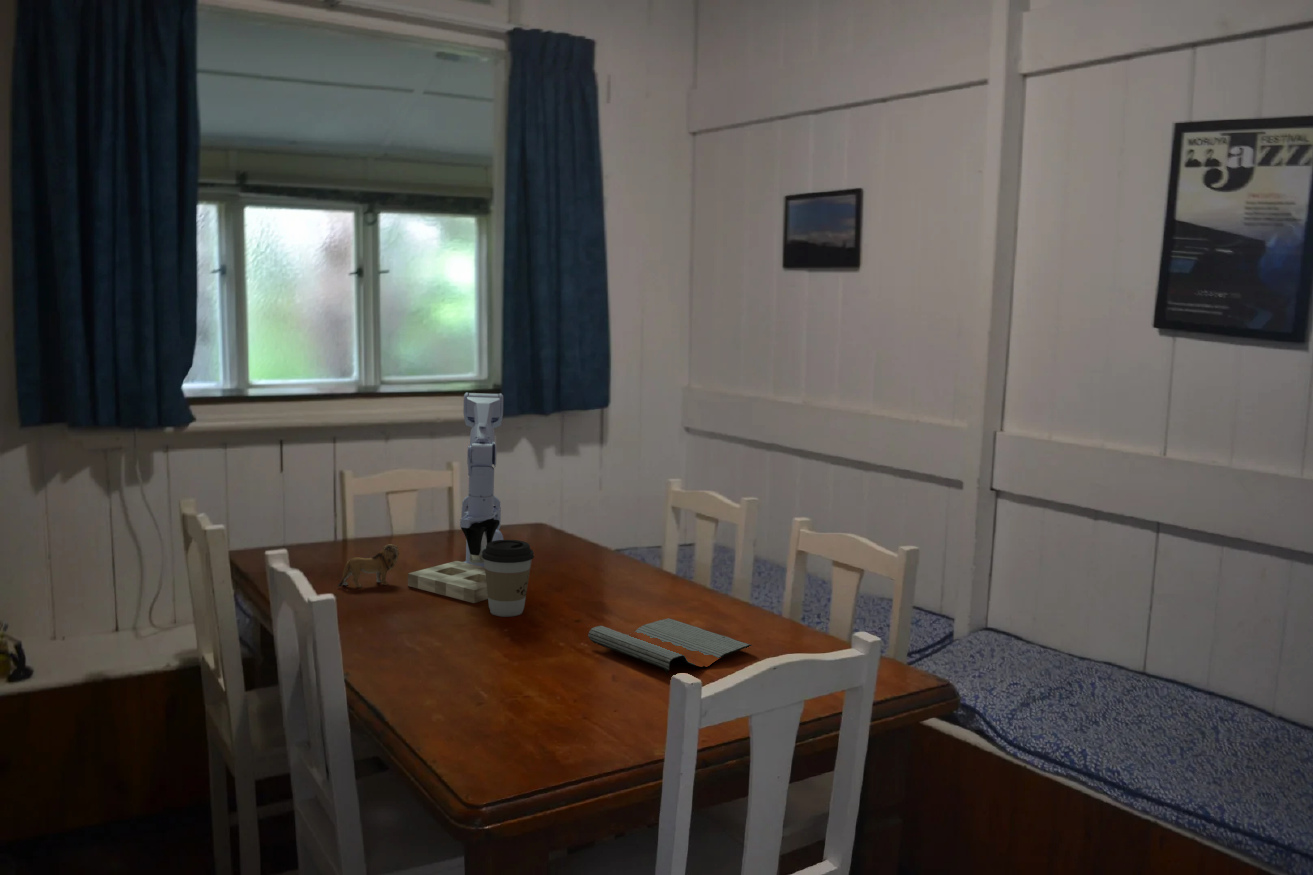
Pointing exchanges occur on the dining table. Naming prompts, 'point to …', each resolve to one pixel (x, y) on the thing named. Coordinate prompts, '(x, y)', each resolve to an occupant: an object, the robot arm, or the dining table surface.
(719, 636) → the mat
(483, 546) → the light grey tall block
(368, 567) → the lion figurine
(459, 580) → the jig plate
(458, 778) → the dining table surface
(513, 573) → the coffee cup
